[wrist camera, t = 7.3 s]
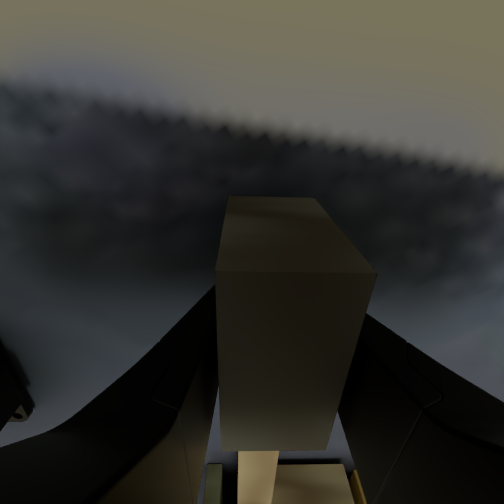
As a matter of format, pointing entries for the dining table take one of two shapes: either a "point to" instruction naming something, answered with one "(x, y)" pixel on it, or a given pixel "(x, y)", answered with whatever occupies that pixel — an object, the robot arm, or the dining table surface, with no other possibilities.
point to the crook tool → (285, 342)
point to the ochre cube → (356, 489)
